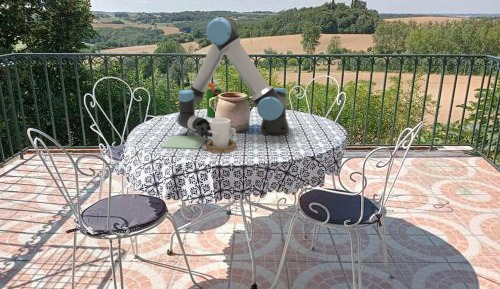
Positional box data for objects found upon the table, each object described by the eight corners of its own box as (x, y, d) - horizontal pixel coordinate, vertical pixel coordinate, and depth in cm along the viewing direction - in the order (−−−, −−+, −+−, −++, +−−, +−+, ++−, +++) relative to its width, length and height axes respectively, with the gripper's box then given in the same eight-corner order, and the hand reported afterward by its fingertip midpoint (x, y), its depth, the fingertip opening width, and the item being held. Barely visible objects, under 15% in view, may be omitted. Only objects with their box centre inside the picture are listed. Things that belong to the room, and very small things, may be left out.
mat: (208, 137, 198) (208, 136, 198) (198, 149, 181) (198, 148, 181) (174, 136, 201) (174, 135, 200) (161, 147, 184) (161, 146, 184)
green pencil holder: (219, 118, 236) (217, 84, 229) (205, 117, 237) (203, 84, 231) (223, 114, 245) (222, 82, 239) (210, 113, 247) (208, 81, 241)
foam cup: (223, 152, 176) (222, 124, 172) (206, 148, 181) (205, 121, 177) (235, 146, 184) (234, 119, 180) (219, 143, 188) (218, 117, 184)
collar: (237, 144, 188) (237, 139, 187) (232, 153, 175) (232, 148, 174) (210, 143, 190) (210, 138, 189) (203, 152, 177) (203, 147, 176)
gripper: (216, 127, 201) (245, 137, 185) (179, 136, 187) (206, 147, 171) (216, 113, 198) (244, 121, 182) (178, 121, 185) (205, 130, 169)
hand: (226, 134), depth 177 cm, fingers closed on foam cup, 9 cm apart
